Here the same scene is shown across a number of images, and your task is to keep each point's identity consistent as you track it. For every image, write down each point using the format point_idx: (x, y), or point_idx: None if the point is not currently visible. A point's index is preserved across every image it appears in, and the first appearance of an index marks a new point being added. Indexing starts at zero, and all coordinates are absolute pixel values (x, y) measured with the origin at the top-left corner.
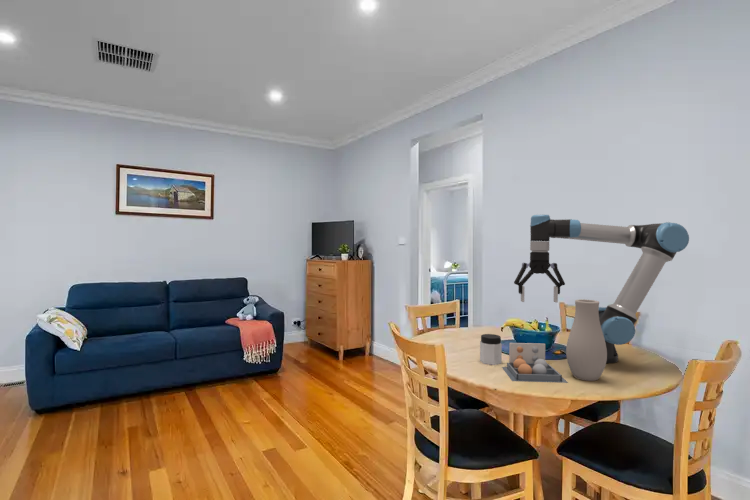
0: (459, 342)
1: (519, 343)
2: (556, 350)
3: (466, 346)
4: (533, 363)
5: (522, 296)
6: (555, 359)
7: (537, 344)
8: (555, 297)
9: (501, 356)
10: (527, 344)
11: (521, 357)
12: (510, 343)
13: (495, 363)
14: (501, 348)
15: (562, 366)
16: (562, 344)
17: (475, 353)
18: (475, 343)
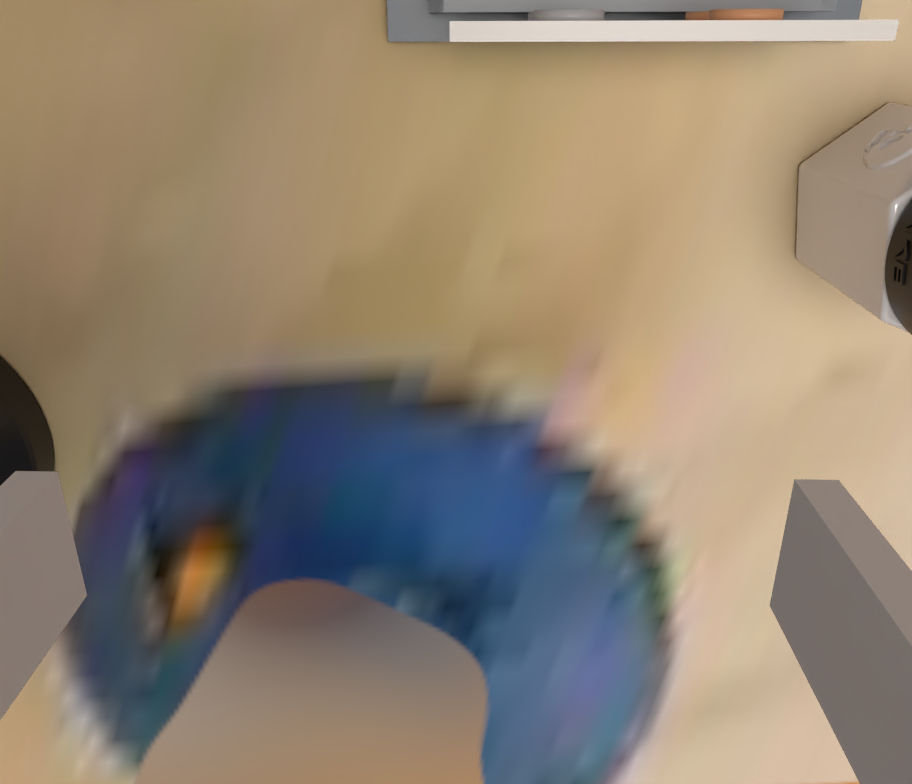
0: None
1: (774, 20)
2: (197, 616)
3: None
4: (575, 1)
5: (899, 567)
6: (267, 384)
7: (546, 22)
8: (1, 561)
9: (832, 176)
10: (669, 21)
11: (705, 11)
12: (887, 20)
13: (888, 114)
14: (868, 190)
15: (261, 188)
16: (116, 757)
17: (882, 499)
18: (771, 748)
